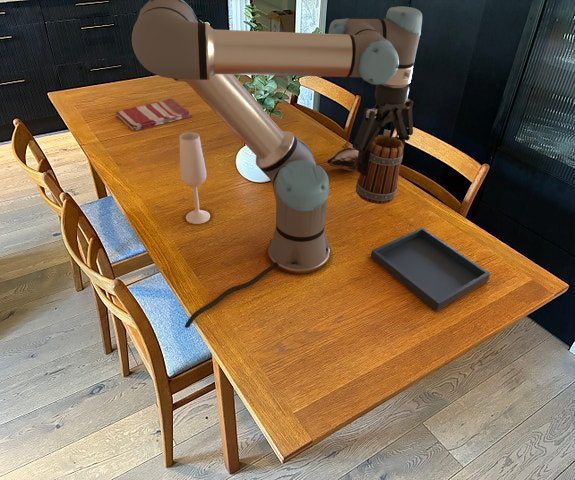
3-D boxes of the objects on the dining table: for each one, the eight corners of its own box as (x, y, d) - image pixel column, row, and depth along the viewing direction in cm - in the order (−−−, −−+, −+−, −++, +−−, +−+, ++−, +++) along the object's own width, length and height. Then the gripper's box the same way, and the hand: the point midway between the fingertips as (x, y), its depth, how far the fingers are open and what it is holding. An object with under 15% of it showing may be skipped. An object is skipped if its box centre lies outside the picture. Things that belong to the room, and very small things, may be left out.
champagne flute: (186, 210, 131) (176, 130, 116) (210, 209, 131) (203, 130, 116) (184, 224, 125) (174, 142, 111) (209, 223, 126) (202, 142, 111)
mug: (394, 208, 118) (408, 154, 109) (353, 201, 119) (363, 147, 110) (395, 179, 130) (408, 128, 121) (357, 172, 131) (367, 122, 122)
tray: (436, 311, 103) (439, 303, 102) (370, 257, 117) (371, 250, 115) (487, 280, 111) (490, 273, 110) (420, 234, 125) (422, 227, 124)
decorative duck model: (388, 160, 144) (350, 170, 137) (382, 180, 149) (345, 191, 142) (359, 136, 153) (322, 145, 146) (354, 156, 158) (318, 165, 151)
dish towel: (191, 116, 180) (191, 110, 178) (133, 131, 168) (132, 124, 167) (171, 102, 190) (170, 96, 188) (115, 115, 178) (114, 109, 177)
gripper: (366, 97, 99) (354, 186, 112) (440, 78, 110) (421, 161, 123) (343, 86, 104) (334, 172, 117) (416, 69, 114) (400, 150, 128)
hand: (378, 167), depth 120 cm, fingers closed on mug, 11 cm apart
